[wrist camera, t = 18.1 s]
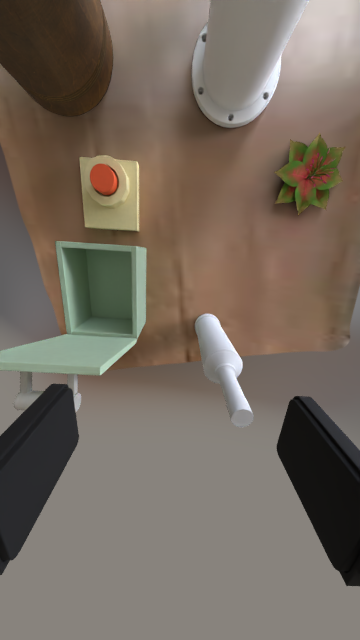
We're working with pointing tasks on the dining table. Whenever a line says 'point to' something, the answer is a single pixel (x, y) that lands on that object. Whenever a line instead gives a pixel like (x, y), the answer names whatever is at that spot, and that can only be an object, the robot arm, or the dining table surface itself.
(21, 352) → the lid
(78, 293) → the compartment
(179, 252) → the dining table surface
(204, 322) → the bottle
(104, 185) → the button
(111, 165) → the control block
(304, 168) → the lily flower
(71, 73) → the wooden container
